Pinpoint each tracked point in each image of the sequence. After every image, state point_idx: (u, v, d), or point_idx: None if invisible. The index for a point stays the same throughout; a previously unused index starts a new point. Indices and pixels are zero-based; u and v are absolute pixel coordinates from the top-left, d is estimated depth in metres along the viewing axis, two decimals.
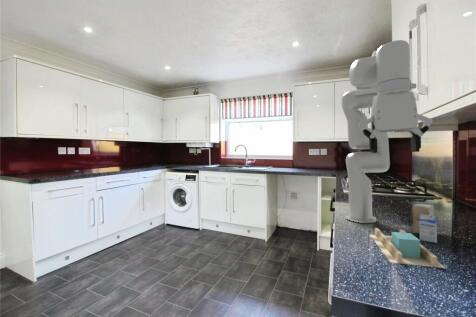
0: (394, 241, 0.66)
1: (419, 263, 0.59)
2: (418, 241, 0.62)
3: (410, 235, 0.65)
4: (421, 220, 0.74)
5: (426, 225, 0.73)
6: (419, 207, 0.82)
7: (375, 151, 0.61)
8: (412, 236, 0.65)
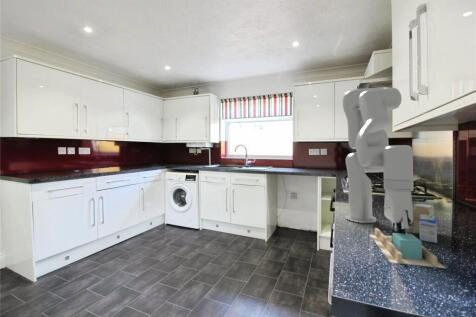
0: (395, 243, 0.65)
1: (419, 263, 0.59)
2: (420, 242, 0.61)
3: (411, 236, 0.64)
4: (421, 220, 0.74)
5: (426, 225, 0.73)
6: (419, 207, 0.82)
7: None
8: (413, 237, 0.64)
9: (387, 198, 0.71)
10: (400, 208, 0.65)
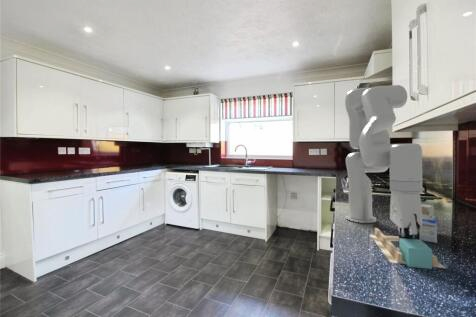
0: (402, 249, 0.61)
1: None
2: (430, 251, 0.56)
3: (420, 243, 0.59)
4: None
5: (426, 225, 0.73)
6: None
7: None
8: (423, 244, 0.59)
9: (393, 201, 0.65)
10: (408, 212, 0.60)
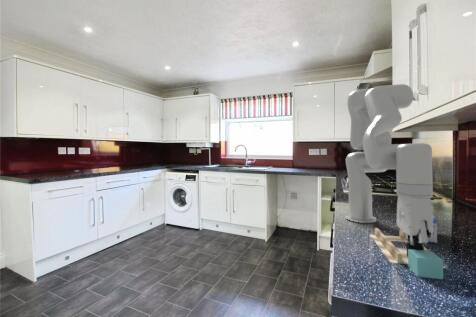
0: (413, 264, 0.55)
1: None
2: None
3: (438, 269, 0.52)
4: None
5: None
6: None
7: None
8: (439, 272, 0.51)
9: (401, 205, 0.60)
10: (418, 218, 0.54)
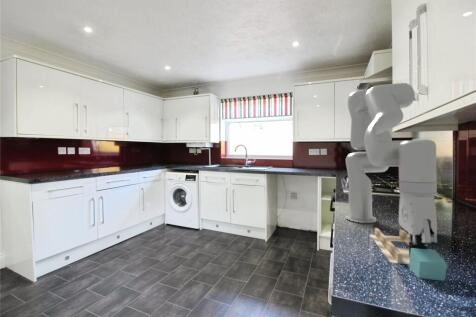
0: (414, 264, 0.54)
1: None
2: None
3: (441, 272, 0.50)
4: None
5: None
6: None
7: None
8: (441, 275, 0.51)
9: (403, 204, 0.58)
10: (421, 217, 0.53)
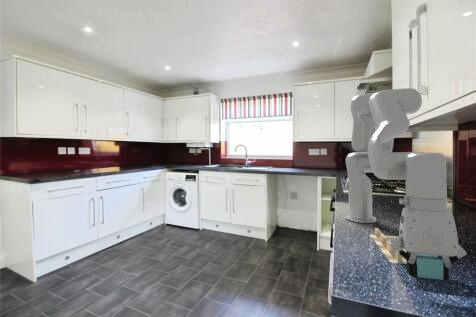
0: None
1: None
2: None
3: (438, 269, 0.51)
4: None
5: None
6: None
7: None
8: (439, 273, 0.51)
9: (430, 226, 0.51)
10: None
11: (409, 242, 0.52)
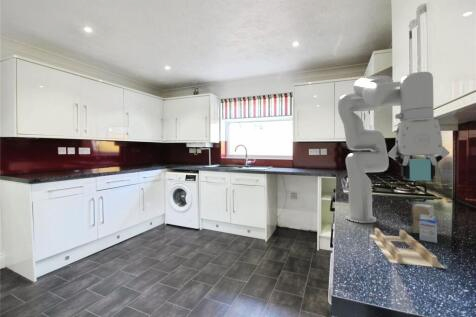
0: None
1: (419, 263, 0.59)
2: None
3: (426, 167, 0.63)
4: (421, 220, 0.74)
5: (426, 225, 0.73)
6: (419, 207, 0.82)
7: None
8: (427, 170, 0.63)
9: (419, 131, 0.63)
10: None
11: (403, 146, 0.64)
